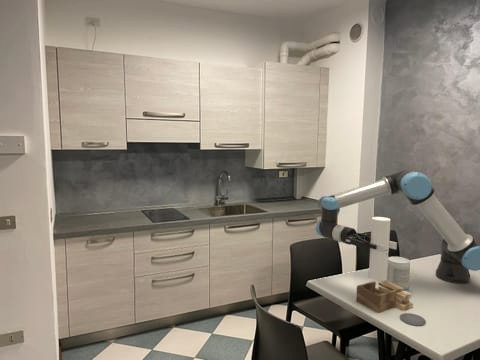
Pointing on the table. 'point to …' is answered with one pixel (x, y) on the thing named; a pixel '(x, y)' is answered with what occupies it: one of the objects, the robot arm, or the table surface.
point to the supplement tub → (399, 272)
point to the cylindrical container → (377, 258)
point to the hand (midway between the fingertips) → (390, 247)
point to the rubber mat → (412, 319)
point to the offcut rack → (383, 296)
